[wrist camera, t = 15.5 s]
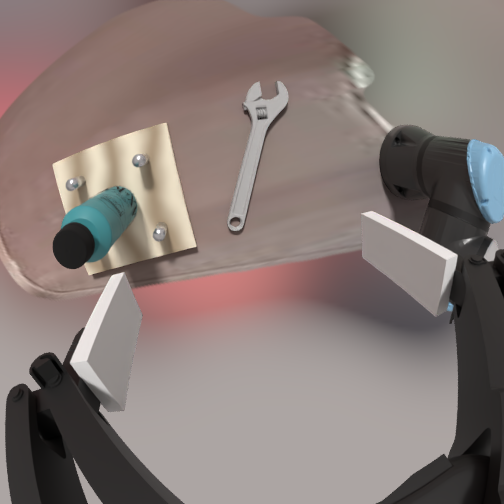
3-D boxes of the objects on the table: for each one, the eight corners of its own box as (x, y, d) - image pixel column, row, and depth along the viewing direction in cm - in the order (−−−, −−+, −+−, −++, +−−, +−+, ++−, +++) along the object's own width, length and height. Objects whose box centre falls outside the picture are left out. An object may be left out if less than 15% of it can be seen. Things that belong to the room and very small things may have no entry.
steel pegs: (148, 151, 37) (143, 152, 33) (168, 231, 42) (166, 239, 38) (74, 177, 36) (64, 181, 32) (98, 251, 41) (90, 261, 37)
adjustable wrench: (240, 230, 46) (242, 233, 45) (203, 220, 45) (203, 223, 43) (289, 89, 39) (292, 87, 37) (252, 75, 37) (254, 73, 35)
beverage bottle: (131, 230, 41) (91, 295, 23) (96, 213, 38) (35, 266, 20) (147, 193, 39) (110, 234, 21) (110, 175, 37) (48, 204, 19)
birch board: (167, 123, 37) (166, 122, 36) (196, 243, 45) (196, 246, 44) (56, 163, 35) (52, 164, 34) (91, 271, 43) (88, 275, 42)
